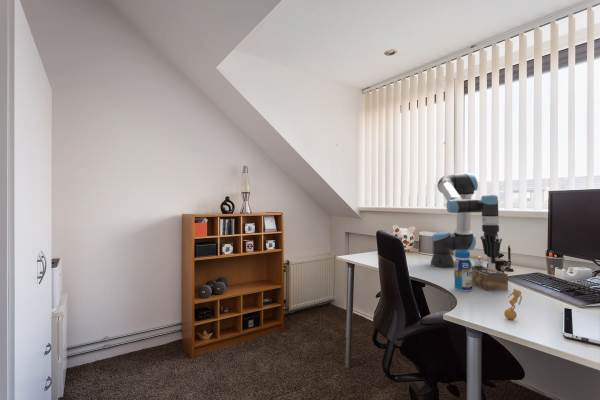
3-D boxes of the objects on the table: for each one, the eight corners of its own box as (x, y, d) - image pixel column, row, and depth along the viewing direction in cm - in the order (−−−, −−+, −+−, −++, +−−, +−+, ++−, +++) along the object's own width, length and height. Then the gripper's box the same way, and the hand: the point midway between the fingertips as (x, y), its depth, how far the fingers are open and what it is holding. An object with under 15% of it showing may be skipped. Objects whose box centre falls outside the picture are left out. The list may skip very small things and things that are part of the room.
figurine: (499, 315, 123) (498, 285, 123) (516, 315, 122) (515, 285, 122) (510, 323, 115) (509, 291, 115) (528, 324, 114) (526, 292, 114)
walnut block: (465, 281, 173) (465, 266, 173) (483, 280, 174) (483, 265, 174) (488, 290, 155) (487, 274, 155) (508, 289, 156) (507, 272, 156)
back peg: (473, 270, 171) (472, 256, 171) (479, 270, 172) (479, 255, 172) (478, 272, 167) (477, 257, 167) (484, 271, 168) (484, 257, 168)
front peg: (486, 284, 161) (485, 268, 161) (493, 283, 162) (492, 268, 162) (491, 286, 157) (491, 270, 157) (498, 285, 158) (498, 270, 158)
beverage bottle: (455, 286, 164) (454, 249, 164) (473, 288, 159) (472, 250, 159) (453, 290, 157) (451, 251, 157) (471, 292, 152) (470, 253, 152)
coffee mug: (500, 274, 187) (500, 257, 187) (509, 277, 178) (508, 260, 178) (480, 274, 188) (480, 258, 188) (488, 277, 179) (487, 260, 179)
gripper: (475, 223, 166) (476, 266, 165) (492, 225, 153) (494, 272, 152) (488, 223, 166) (489, 266, 166) (506, 224, 153) (508, 271, 153)
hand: (491, 269), depth 159 cm, fingers closed
